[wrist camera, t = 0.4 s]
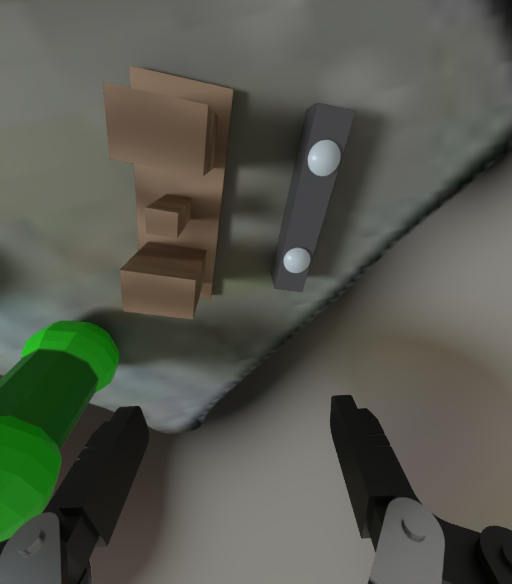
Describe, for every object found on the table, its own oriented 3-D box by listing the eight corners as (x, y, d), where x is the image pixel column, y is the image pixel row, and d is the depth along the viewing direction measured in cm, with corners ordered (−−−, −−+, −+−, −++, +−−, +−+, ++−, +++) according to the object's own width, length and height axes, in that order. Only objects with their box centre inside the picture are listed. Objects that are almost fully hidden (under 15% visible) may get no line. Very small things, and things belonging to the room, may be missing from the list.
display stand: (134, 68, 21) (78, 30, 14) (233, 91, 22) (228, 66, 15) (143, 286, 30) (113, 328, 23) (211, 294, 31) (202, 337, 24)
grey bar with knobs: (306, 109, 23) (319, 101, 19) (338, 116, 23) (357, 110, 19) (270, 272, 30) (274, 289, 27) (295, 275, 31) (302, 293, 27)
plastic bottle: (45, 354, 35) (-285, 701, 13) (52, 293, 30) (-435, 668, 9) (121, 375, 37) (-50, 696, 16) (138, 321, 33) (-69, 668, 11)
